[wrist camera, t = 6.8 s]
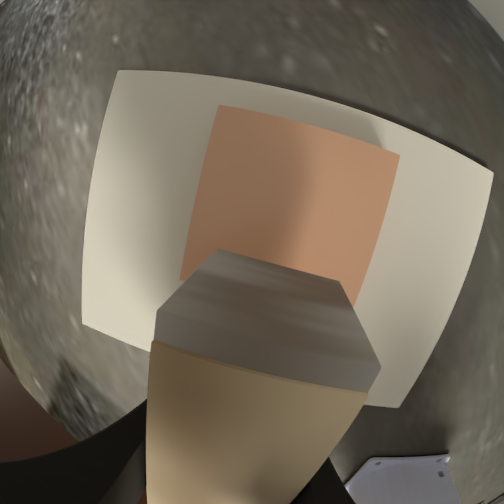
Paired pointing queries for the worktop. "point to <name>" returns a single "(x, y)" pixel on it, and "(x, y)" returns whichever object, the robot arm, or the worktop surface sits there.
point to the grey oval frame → (497, 501)
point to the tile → (290, 197)
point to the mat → (184, 193)
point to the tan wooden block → (251, 382)
